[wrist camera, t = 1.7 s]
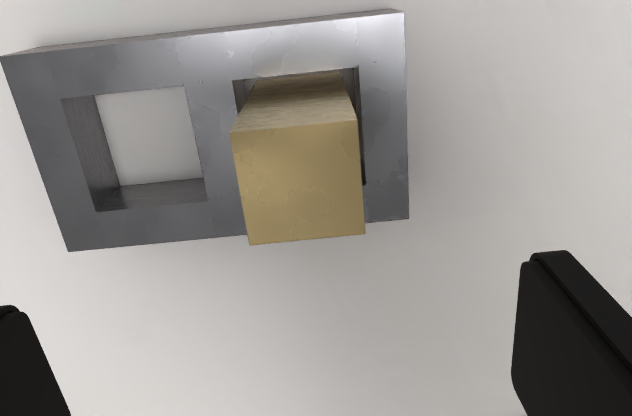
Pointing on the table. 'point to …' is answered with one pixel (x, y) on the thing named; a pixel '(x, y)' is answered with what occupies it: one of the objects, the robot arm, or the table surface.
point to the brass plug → (299, 160)
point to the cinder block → (202, 120)
